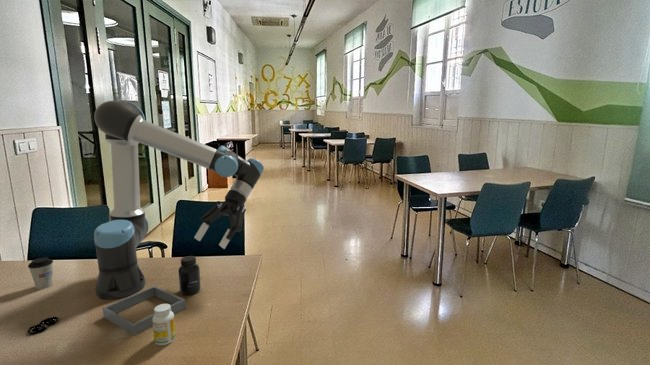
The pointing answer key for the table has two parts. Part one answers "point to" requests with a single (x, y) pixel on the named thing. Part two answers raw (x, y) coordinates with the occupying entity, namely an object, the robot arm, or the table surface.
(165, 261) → the table surface
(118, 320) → the square frame
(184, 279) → the supplement bottle
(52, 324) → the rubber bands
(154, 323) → the supplement bottle
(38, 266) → the coffee cup
